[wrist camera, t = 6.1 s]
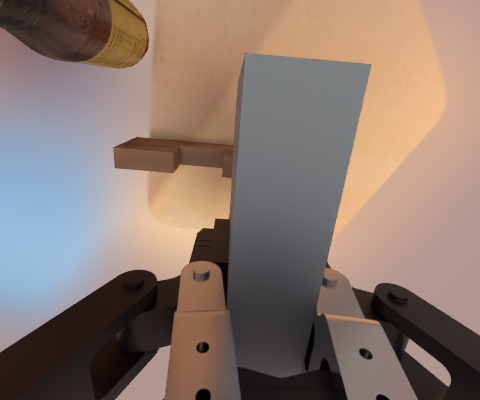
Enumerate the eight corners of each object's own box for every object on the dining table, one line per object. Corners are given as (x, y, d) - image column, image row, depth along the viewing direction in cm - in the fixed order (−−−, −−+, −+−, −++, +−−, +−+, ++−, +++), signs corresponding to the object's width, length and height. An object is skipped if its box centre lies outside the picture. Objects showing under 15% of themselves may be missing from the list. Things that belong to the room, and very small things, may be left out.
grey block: (237, 82, 17) (245, 53, 5) (275, 85, 17) (371, 64, 5) (225, 267, 22) (214, 476, 10) (254, 269, 22) (278, 477, 10)
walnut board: (136, 137, 32) (113, 147, 25) (272, 149, 32) (281, 162, 26) (137, 154, 32) (115, 168, 26) (270, 165, 33) (278, 181, 27)
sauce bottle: (79, 12, 27) (-260, -165, 8) (136, -10, 26) (-93, -252, 8) (109, 80, 29) (-105, 59, 11) (163, 62, 29) (34, 5, 10)
